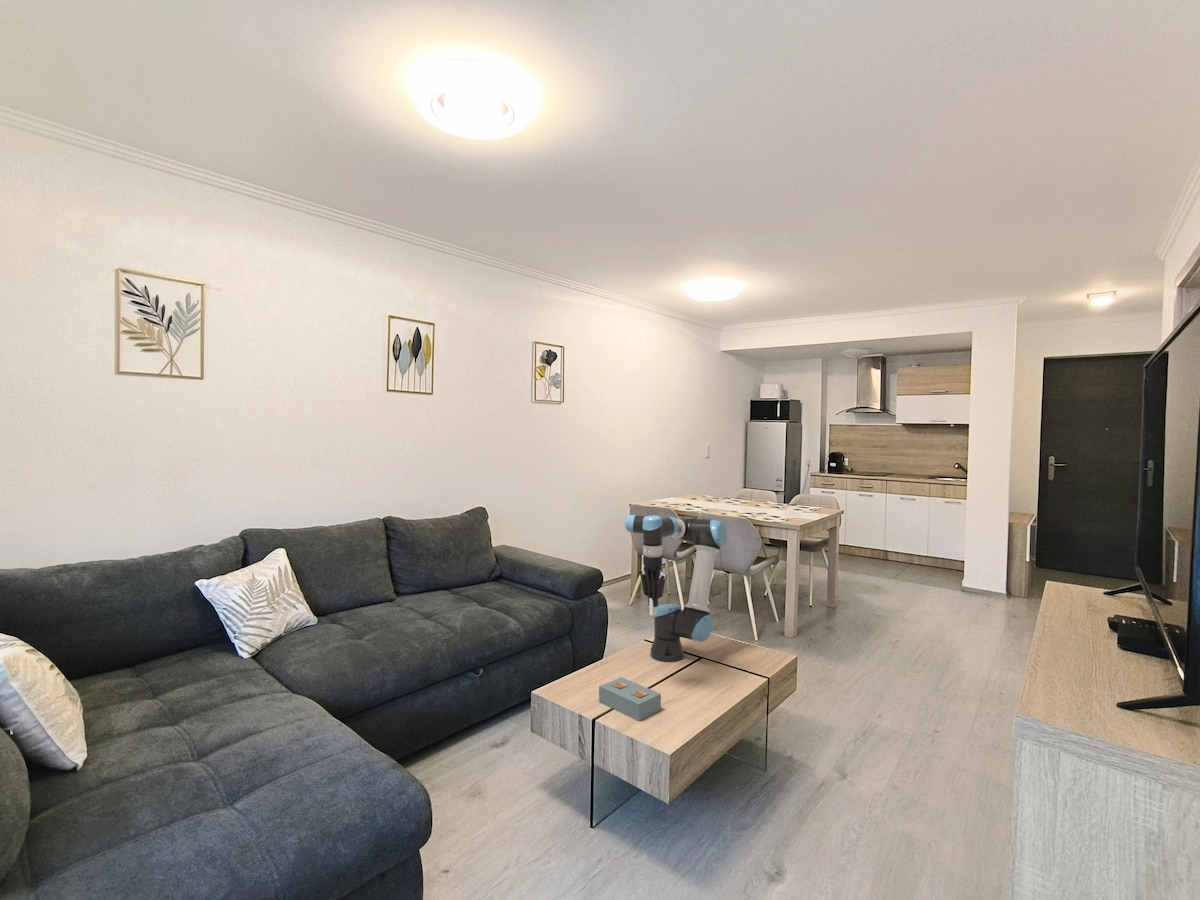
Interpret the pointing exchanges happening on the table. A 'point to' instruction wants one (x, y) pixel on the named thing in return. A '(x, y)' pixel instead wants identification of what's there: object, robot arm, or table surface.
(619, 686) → the peg
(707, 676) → the table surface
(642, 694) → the peg
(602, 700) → the socket block
